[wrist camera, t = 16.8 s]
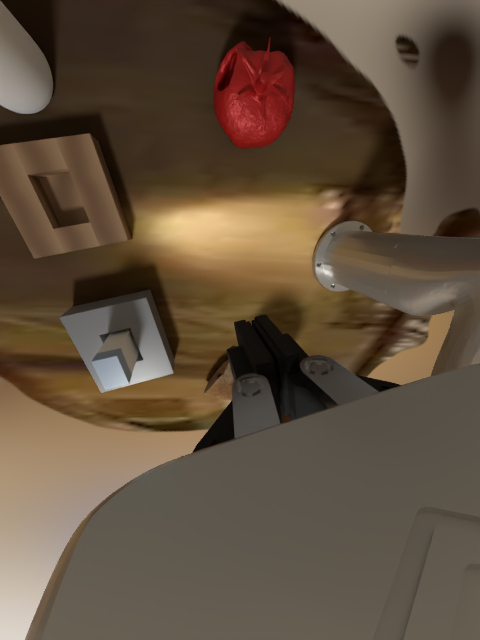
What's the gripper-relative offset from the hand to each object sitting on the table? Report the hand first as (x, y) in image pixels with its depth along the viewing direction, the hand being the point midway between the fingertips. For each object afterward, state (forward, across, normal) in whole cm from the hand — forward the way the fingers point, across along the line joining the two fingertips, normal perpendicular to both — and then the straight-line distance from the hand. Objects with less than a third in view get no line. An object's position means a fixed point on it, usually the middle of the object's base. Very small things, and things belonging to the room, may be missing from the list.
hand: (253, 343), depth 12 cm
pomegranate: (+29, -10, -18) cm, 36 cm away
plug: (+28, +16, +10) cm, 34 cm away
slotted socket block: (+29, +16, -11) cm, 35 cm away
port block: (+29, +16, +10) cm, 35 cm away
